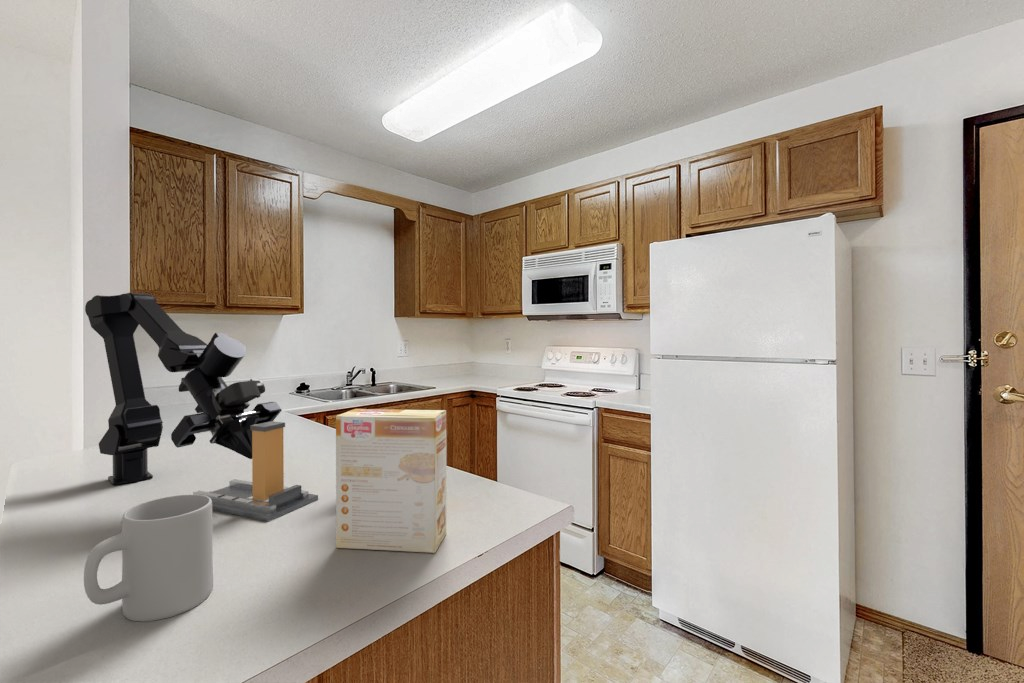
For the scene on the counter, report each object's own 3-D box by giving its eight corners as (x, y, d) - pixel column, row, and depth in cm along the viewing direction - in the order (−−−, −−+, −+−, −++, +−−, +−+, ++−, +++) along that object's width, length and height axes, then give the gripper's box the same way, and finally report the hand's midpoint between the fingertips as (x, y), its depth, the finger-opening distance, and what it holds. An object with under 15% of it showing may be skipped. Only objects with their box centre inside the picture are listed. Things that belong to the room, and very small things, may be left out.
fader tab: (246, 502, 82) (246, 425, 82) (269, 493, 87) (269, 420, 87) (266, 506, 81) (266, 427, 80) (289, 497, 85) (288, 422, 85)
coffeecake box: (447, 533, 73) (447, 409, 72) (435, 554, 65) (435, 417, 65) (355, 528, 74) (355, 407, 74) (334, 549, 67) (334, 414, 67)
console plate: (185, 504, 84) (185, 487, 84) (240, 486, 94) (240, 470, 94) (268, 521, 76) (268, 502, 76) (318, 499, 87) (318, 482, 87)
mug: (188, 574, 60) (188, 489, 60) (228, 591, 56) (228, 501, 56) (66, 626, 49) (65, 523, 49) (105, 651, 45) (104, 540, 45)
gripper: (182, 368, 78) (228, 440, 74) (275, 362, 95) (316, 420, 91) (151, 411, 81) (195, 482, 77) (247, 398, 98) (286, 455, 94)
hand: (253, 457), depth 85 cm, fingers closed
